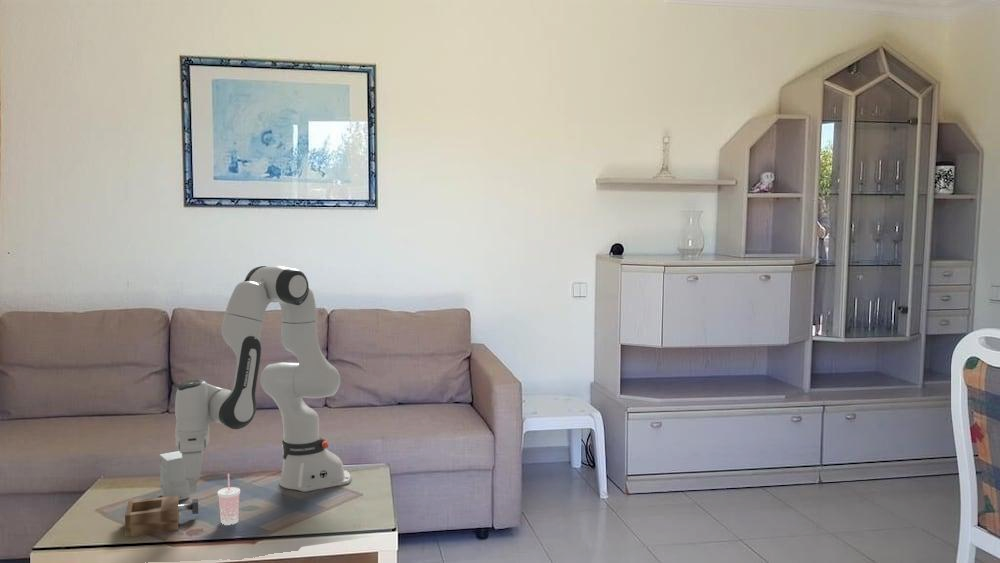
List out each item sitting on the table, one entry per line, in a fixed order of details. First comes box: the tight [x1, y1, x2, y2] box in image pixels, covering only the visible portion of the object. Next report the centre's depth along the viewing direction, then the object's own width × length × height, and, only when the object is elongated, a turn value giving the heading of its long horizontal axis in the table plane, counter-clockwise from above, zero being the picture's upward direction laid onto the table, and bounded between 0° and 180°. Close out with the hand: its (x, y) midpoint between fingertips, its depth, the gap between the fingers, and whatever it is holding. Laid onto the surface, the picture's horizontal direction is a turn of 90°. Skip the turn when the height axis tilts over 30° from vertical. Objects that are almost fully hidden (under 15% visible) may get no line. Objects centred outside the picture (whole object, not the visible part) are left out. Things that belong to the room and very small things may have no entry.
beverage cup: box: [217, 473, 241, 526], centre depth 221 cm, size 6×6×14 cm
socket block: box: [124, 496, 180, 538], centre depth 218 cm, size 13×11×6 cm
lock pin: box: [149, 498, 199, 515], centre depth 221 cm, size 13×3×3 cm, turn 111°
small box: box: [159, 450, 190, 501], centre depth 240 cm, size 8×6×13 cm
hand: (193, 486), depth 222 cm, fingers open, 8 cm apart
